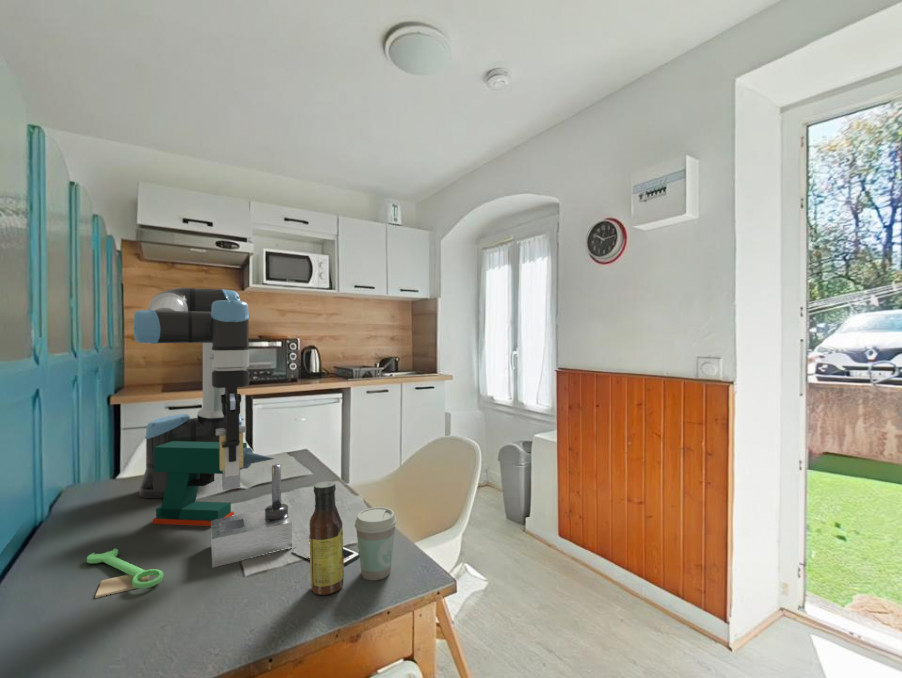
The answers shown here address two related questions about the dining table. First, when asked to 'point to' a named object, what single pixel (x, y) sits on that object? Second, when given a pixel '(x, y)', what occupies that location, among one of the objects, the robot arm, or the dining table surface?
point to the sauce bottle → (326, 542)
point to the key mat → (117, 585)
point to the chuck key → (231, 480)
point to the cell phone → (348, 555)
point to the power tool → (192, 481)
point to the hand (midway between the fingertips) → (231, 472)
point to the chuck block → (252, 530)
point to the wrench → (127, 568)
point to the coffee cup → (375, 541)
